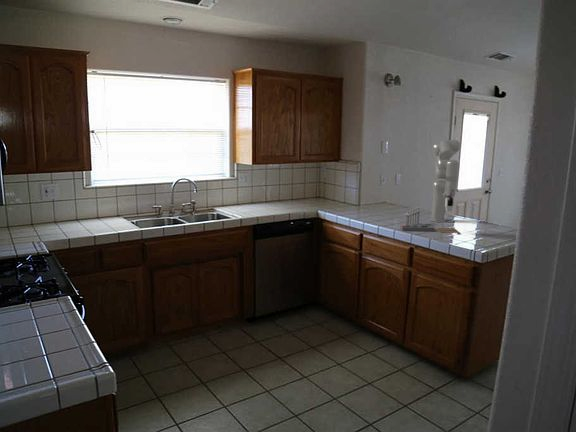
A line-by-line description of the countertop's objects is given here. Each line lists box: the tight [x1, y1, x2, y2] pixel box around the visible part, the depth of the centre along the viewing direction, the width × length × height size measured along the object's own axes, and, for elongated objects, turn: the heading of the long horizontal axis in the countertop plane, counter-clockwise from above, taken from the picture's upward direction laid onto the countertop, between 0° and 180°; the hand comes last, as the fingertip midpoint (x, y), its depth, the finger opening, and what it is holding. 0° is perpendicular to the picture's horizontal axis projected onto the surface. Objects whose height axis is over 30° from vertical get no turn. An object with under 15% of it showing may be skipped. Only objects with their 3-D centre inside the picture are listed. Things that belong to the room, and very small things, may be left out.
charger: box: [445, 197, 455, 212], centre depth 305 cm, size 4×4×10 cm
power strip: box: [400, 224, 436, 232], centre depth 310 cm, size 7×22×4 cm, turn 86°
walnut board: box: [435, 227, 461, 235], centre depth 309 cm, size 13×13×1 cm
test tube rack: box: [403, 206, 423, 225], centre depth 324 cm, size 25×4×13 cm, turn 142°
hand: (449, 205), depth 305 cm, fingers closed on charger, 4 cm apart
